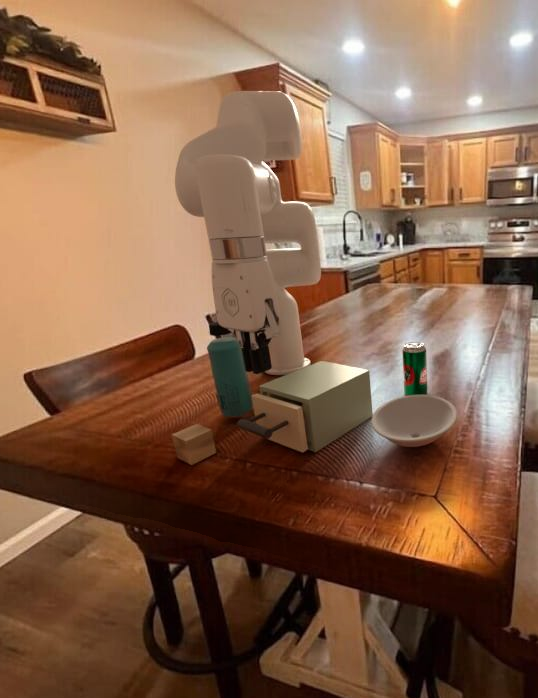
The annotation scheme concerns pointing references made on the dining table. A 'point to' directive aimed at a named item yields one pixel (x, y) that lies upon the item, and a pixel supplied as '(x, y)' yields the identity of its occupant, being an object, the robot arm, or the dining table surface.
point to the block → (194, 444)
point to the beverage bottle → (229, 373)
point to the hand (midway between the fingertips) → (258, 369)
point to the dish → (414, 419)
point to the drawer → (279, 421)
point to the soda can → (414, 369)
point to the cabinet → (327, 398)
